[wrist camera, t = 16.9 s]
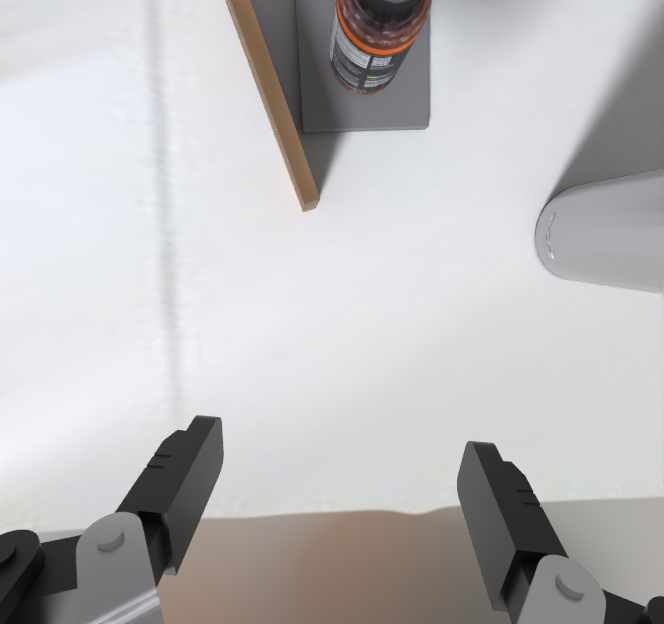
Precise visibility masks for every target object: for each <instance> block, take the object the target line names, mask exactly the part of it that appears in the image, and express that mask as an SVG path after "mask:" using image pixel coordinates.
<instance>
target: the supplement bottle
mask: <svg viewBox="0 0 664 624" xmlns="http://www.w3.org/2000/svg"><path fill="white" fill-rule="evenodd" d="M430 6H431V0H336V4H335V11H334V19H333V27H332V30H331V31H332V33H331V31H330V33H331V40H330V64H331V68H332V71H333V73H334V75H335V77H336V78H337V80H338V81H339V82H340V84H341V85H342V86H343V87H345V88H346V89H347V90H349V91H351V92H353V93H356V94H361V95H370V94H374V93H377V92H379V91H381V90H383V89H384V88H385V87H386V86H387V85H388V84H389V83H390V82H391V81H392V80H393V78H394V76H395V75H396V73H397V71H398V69H399V68H400V66H401V64H402V62H403V60H404V59H405V57H406V55H407V53H408V52H409V50H410V48H411V46H412V45H413V43H414V41H415V39H416V37H417V36H418V34H419V32H420V30H421V28H422V27H423V25H424V23H425V21H426V19H427V16H428V14H429V10H430Z"/></svg>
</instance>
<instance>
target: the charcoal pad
mask: <svg viewBox="0 0 664 624" xmlns="http://www.w3.org/2000/svg"><path fill="white" fill-rule="evenodd" d="M335 4H336V0H295V8H296V24H297V41H298V57H299V74H300V90H301V106H302V123H303V133H319V132H353V131H387V130H421V129H426V128H427V127H428V126H429V14H428V16H427V19H426V21H425V23H424V25H423V27H422V28H421V30H420V32H419V34H418V36H417V37H416V39H415V41H414V43H413V45H412V46H411V48H410V50H409V52H408V53H407V55H406V57H405V59H404V60H403V62H402V64H401V66H400V68H399V69H398V71H397V73H396V75H395V76H394V78H393V80H392V81H391V82H390V83H389V84H388V85H387V86H386V87H385V88H384V89H383V90H381V91H379V92H377V93H374V94H370V95H361V94H356V93H353V92H351V91H349V90H347V89H346V88H345V87H343V86H342V85H341V84H340V82H339V81H338V80H337V78H336V77H335V75H334V73H333V71H332V68H331V64H330V40H331V33H332V31H331V30H332V27H333V19H334V11H335ZM330 31H331V33H330Z"/></svg>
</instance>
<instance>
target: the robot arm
mask: <svg viewBox="0 0 664 624" xmlns="http://www.w3.org/2000/svg"><path fill="white" fill-rule="evenodd" d="M535 244H536V250H537V253H538V256H539V258H540V260H541V262H542V264H543V265H544V266H545V268H546V269H547V270H548V271H549V272H551V273H552V274H553V275H555V276H557V277H560V278H562V279H566V280H573V281H579V282H586V283H592V284H597V285H604V286H611V287H618V288H624V289H631V290H638V291H645V292H652V293H658V294H664V169H659V170H654V171H649V172H644V173H639V174H634V175H629V176H624V177H619V178H613V179H608V180H603V181H598V182H592V183H587V184H582V185H578V186H574V187H570V188H568V189H566V190H564V191H562V192H560V193H559V194H558V195H557V196H555V197H554V198H553V199H552V200H551V201H550V202H549V203H548V204H547V206H546V207H545V209H544V210H543V212H542V214H541V215H540V218H539V221H538V224H537V227H536V234H535ZM223 456H224V451H223V435H222V421H221V418H220V417H211V416H200V415H197V416H196V417H195V418H194V419H193V421H192V422H191V424H190V426H189V427H188V429H187V430H186V431H183V430H177V431H175V432H174V433H173V434H172V435H170V436H169V437H168V438H166V439H165V440H164V441H163V442H162V444H161V445H160V447H159V448H158V449H157V451H156V452H155V454H154V457H152V458H151V460H150V461H149V463H148V464H147V467H146V468H145V469H144V470H143V472H142V473H141V475H140V476H139V478H138V479H137V481H136V482H135V484H134V485H133V486H132V488H131V489H130V491H129V492H128V494H127V495H126V497H125V498H124V500H123V501H122V503H121V504H120V506H119V507H118V509H117V510H116V511H115V513H113V514H110V515H107V516H105V517H103V518H101V519H99V520H97V521H96V522H95V523H93V524H92V525H91V526H90V527H89V528H87V530H86V531H85V532H84V533H83V534H82V535H79V536H75V537H70V538H65V539H60V540H55V541H50V542H44V543H40V540H39V538H38V536H37V534H36V533H34V532H33V531H30V530H15V531H11V532H7V533H4V534H2V535H0V624H164V619H163V615H162V610H161V606H160V602H159V597H158V594H157V590H156V588H157V585H158V583H159V581H160V579H161V577H162V575H163V574H166V575H177V572H178V570H179V568H180V565H181V563H182V561H183V558H184V556H185V554H186V551H187V549H188V547H189V544H190V542H191V540H192V537H193V535H194V533H195V530H196V528H197V526H198V523H199V521H200V519H201V516H202V514H203V512H204V509H205V507H206V505H207V502H208V500H209V498H210V495H211V493H212V491H213V488H214V486H215V484H216V481H217V479H218V477H219V474H220V471H221V468H222V464H223ZM457 490H458V496H459V500H460V503H461V507H462V510H463V513H464V517H465V520H466V523H467V526H468V530H469V533H470V536H471V540H472V543H473V546H474V549H475V553H476V556H477V559H478V563H479V566H480V569H481V573H482V576H483V579H484V583H485V586H486V589H487V592H488V596H489V599H490V602H491V606H492V609H493V610H495V611H505V612H508V613H509V616H510V619H511V622H512V624H664V597H662V596H659V597H654V598H652V599H651V600H650V601H649V603H648V604H647V606H646V607H644V606H642V605H639V604H637V603H634V602H632V601H629V600H627V599H624V598H622V597H619V596H617V595H614V594H612V593H610V592H607V591H605V590H603V589H601V587H600V585H599V584H598V582H597V581H596V580H595V578H594V577H593V576H592V575H591V574H590V573H589V572H588V571H587V570H586V569H585V568H583V567H582V566H581V565H579V564H578V563H576V562H574V561H573V560H571V559H569V557H568V556H567V554H566V552H565V550H564V548H563V546H562V545H561V543H560V541H559V539H558V537H557V535H556V533H555V531H554V529H553V528H552V526H551V524H550V522H549V520H548V518H547V516H546V514H545V512H544V510H543V509H542V507H540V503H539V501H538V499H537V497H536V495H535V494H533V490H532V488H531V486H530V484H529V482H528V480H527V478H526V477H525V475H524V474H523V473H522V472H521V471H520V470H519V469H518V468H517V467H516V466H515V465H514V464H513V463H512V462H507V461H503V460H502V458H501V456H500V454H499V452H498V450H497V448H496V446H495V445H494V444H493V443H486V442H475V441H468V442H467V444H466V447H465V451H464V455H463V458H462V462H461V466H460V470H459V474H458V478H457Z"/></svg>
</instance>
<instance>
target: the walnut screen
mask: <svg viewBox="0 0 664 624" xmlns="http://www.w3.org/2000/svg"><path fill="white" fill-rule="evenodd" d="M226 3H227V5H228V8H229V11H230V14H231V16H232V19H233V22H234V25H235V27H236V30H237V33H238V36H239V38H240V41H241V44H242V47H243V49H244V52H245V55H246V57H247V60H248V63H249V66H250V68H251V71H252V74H253V77H254V79H255V82H256V85H257V88H258V90H259V93H260V96H261V99H262V101H263V104H264V107H265V110H266V112H267V115H268V118H269V120H270V123H271V126H272V129H273V131H274V134H275V137H276V140H277V142H278V145H279V148H280V151H281V153H282V156H283V159H284V162H285V164H286V167H287V170H288V173H289V175H290V178H291V181H292V183H293V186H294V189H295V192H296V194H297V197H298V200H299V203H300V205H301V208H302V211H303V212H306V211H309V210H312V209H314V208H316V206H317V204H318V202H319V200H320V196H319V193H318V190H317V187H316V184H315V182H314V179H313V176H312V173H311V170H310V167H309V165H308V162H307V159H306V156H305V153H304V150H303V148H302V145H301V142H300V139H299V136H298V133H297V131H296V128H295V125H294V122H293V119H292V116H291V113H290V111H289V108H288V105H287V102H286V99H285V96H284V94H283V91H282V88H281V85H280V82H279V79H278V77H277V74H276V71H275V68H274V65H273V62H272V60H271V57H270V54H269V51H268V48H267V45H266V43H265V40H264V37H263V34H262V31H261V28H260V25H259V23H258V20H257V17H256V14H255V11H254V8H253V6H252V3H251V0H226Z"/></svg>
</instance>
